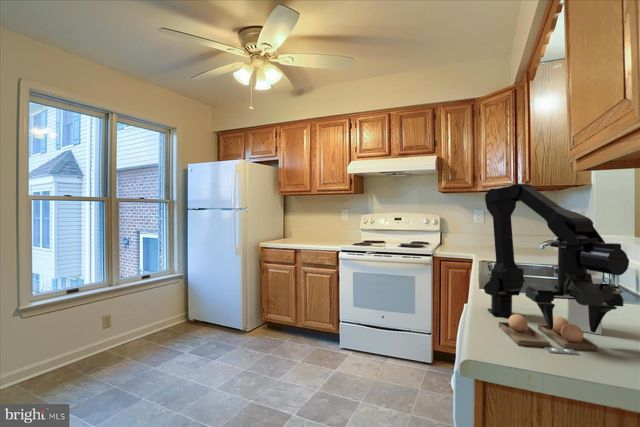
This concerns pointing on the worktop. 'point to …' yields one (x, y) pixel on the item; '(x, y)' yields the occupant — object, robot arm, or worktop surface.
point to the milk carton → (583, 309)
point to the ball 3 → (572, 333)
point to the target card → (561, 350)
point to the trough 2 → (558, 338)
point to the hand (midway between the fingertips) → (571, 330)
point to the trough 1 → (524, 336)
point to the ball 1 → (517, 322)
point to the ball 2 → (558, 324)
